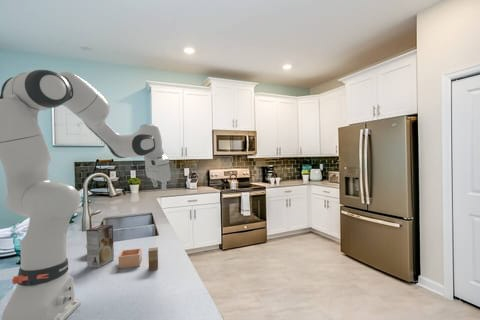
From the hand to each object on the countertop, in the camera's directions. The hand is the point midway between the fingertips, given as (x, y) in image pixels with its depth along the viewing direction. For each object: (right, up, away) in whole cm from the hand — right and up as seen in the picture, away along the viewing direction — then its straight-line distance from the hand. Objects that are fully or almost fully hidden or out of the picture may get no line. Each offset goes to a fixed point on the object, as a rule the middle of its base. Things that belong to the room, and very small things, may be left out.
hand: (160, 188), depth 121 cm
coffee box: (-24, -33, -7) cm, 41 cm away
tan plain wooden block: (+1, -32, -13) cm, 35 cm away
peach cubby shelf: (-10, -32, -8) cm, 35 cm away
